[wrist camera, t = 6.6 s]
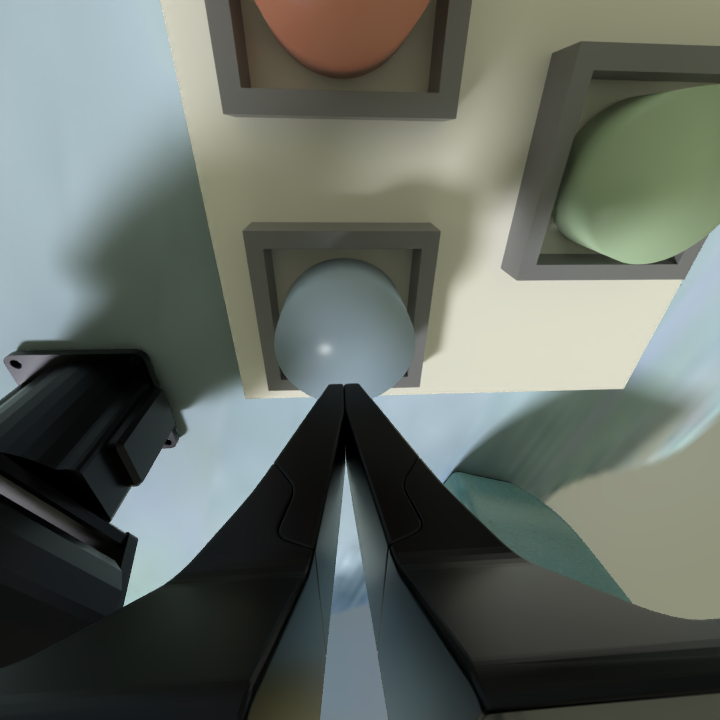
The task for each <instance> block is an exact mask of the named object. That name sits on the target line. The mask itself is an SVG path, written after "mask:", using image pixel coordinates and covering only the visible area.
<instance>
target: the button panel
mask: <svg viewBox="0 0 720 720" xmlns="http://www.w3.org/2000/svg"><path fill="white" fill-rule="evenodd" d="M160 1H161V6H162V10H163V15H164V20H165V24H166V29H167V34H168V38H169V43H170V48H171V52H172V57H173V62H174V66H175V71H176V76H177V80H178V85H179V90H180V95H181V99H182V104H183V109H184V113H185V118H186V123H187V127H188V132H189V137H190V141H191V146H192V151H193V155H194V160H195V165H196V169H197V174H198V179H199V183H200V188H201V193H202V198H203V202H204V207H205V212H206V216H207V221H208V226H209V230H210V235H211V240H212V244H213V249H214V254H215V258H216V263H217V268H218V272H219V277H220V282H221V287H222V291H223V296H224V301H225V305H226V310H227V315H228V319H229V324H230V329H231V333H232V338H233V343H234V347H235V352H236V357H237V361H238V366H239V371H240V375H241V380H242V385H243V390H244V394H245V399H256V398H294V397H311V396H309V395H307V394H305V393H304V392H302V391H301V390H299V389H298V388H297V387H295V386H294V385H293V384H292V383H291V382H290V381H289V380H288V379H287V377H286V376H285V375H284V373H283V372H282V370H281V368H280V366H279V364H278V361H277V359H276V355H275V349H274V338H275V332H276V328H277V324H278V321H279V318H280V315H281V312H282V309H283V305H284V302H285V299H286V296H287V294H288V291H289V289H290V288H291V286H292V284H293V283H294V281H295V280H296V279H297V278H298V277H299V276H300V275H301V274H302V273H303V272H304V271H306V270H307V269H308V268H310V267H311V266H313V265H315V264H317V263H320V262H323V261H326V260H330V259H335V258H352V259H357V260H362V261H365V262H368V263H370V264H372V265H374V266H376V267H377V268H379V269H380V270H382V271H383V272H384V273H385V274H386V275H387V276H388V277H389V278H390V279H391V280H392V281H393V283H394V284H395V286H396V287H397V289H398V291H399V294H400V296H401V298H402V301H403V303H404V305H405V308H406V310H407V313H408V315H409V317H410V320H411V322H412V325H413V328H414V332H415V350H414V356H413V359H412V361H411V364H410V366H409V368H408V370H407V371H406V373H405V374H404V376H403V377H402V378H401V379H400V380H399V381H398V382H397V383H396V384H395V385H394V386H393V387H392V388H390V389H389V390H387V391H386V392H384V393H383V394H381V395H408V394H446V393H484V392H522V391H561V390H599V389H624V387H625V385H626V384H627V382H628V380H629V378H630V376H631V374H632V372H633V371H634V369H635V367H636V365H637V363H638V361H639V360H640V358H641V356H642V354H643V352H644V350H645V348H646V347H647V345H648V343H649V341H650V339H651V337H652V336H653V334H654V332H655V330H656V328H657V326H658V324H659V323H660V321H661V319H662V317H663V315H664V313H665V311H666V310H667V308H668V306H669V304H670V302H671V300H672V299H673V297H674V295H675V293H676V291H677V289H678V287H679V286H680V284H681V282H682V280H683V279H685V277H686V275H687V273H688V272H689V270H690V268H691V266H692V264H693V262H694V261H695V259H696V257H697V255H698V253H699V251H700V250H701V248H702V246H703V244H704V242H705V240H706V238H707V237H708V235H709V234H708V235H707V236H705V237H704V238H703V239H701V240H700V241H699V242H697V243H696V244H695V245H693V246H691V247H690V248H688V249H687V250H685V251H683V252H681V253H679V254H677V255H675V256H673V257H670V258H668V259H665V260H662V261H658V262H654V263H649V264H628V263H623V262H620V261H618V260H615V259H613V258H611V257H608V256H606V255H603V254H601V253H599V252H596V251H594V250H592V249H589V248H587V247H584V246H582V245H580V244H577V243H575V242H572V241H571V240H569V239H567V238H566V237H565V236H564V235H563V234H562V233H561V232H560V231H559V230H558V228H557V227H556V225H555V223H554V221H553V217H552V210H553V207H554V203H555V200H556V197H557V193H558V190H559V187H560V183H561V180H562V176H563V173H564V170H565V166H566V163H567V159H568V156H569V153H570V149H571V146H572V142H573V139H574V137H575V136H576V135H577V133H578V132H579V131H580V130H581V129H582V128H583V127H584V126H585V125H586V124H587V123H588V122H589V121H590V120H591V119H592V118H593V117H595V116H596V115H597V114H598V113H600V112H601V111H603V110H604V109H606V108H607V107H609V106H611V105H613V104H615V103H617V102H619V101H621V100H624V99H627V98H630V97H635V96H640V95H647V94H653V93H660V92H666V91H673V90H679V89H686V88H692V87H698V86H705V85H715V84H720V0H430V2H429V3H428V5H427V7H426V9H425V10H424V12H423V14H422V15H421V17H420V18H419V20H418V21H417V23H416V24H415V26H414V27H413V29H412V30H411V31H410V33H409V34H408V36H407V37H406V39H405V40H404V42H403V43H402V45H401V46H400V47H399V49H398V50H397V51H396V52H395V53H394V54H393V55H392V57H391V58H390V59H389V60H387V61H386V62H385V63H384V64H383V65H381V66H380V67H378V68H377V69H375V70H373V71H372V72H370V73H367V74H365V75H362V76H359V77H355V78H348V79H337V78H330V77H326V76H323V75H319V74H317V73H315V72H313V71H311V70H309V69H308V68H306V67H304V66H303V65H301V64H300V63H299V62H298V61H296V60H295V59H294V58H293V57H292V56H291V55H290V54H289V53H288V52H287V51H286V50H285V49H284V48H283V47H282V45H281V44H280V42H279V41H278V40H277V38H276V37H275V36H274V34H273V32H272V31H271V29H270V27H269V25H268V24H267V22H266V20H265V18H264V17H263V15H262V13H261V11H260V10H259V8H258V6H257V5H256V3H255V1H254V0H160Z"/></svg>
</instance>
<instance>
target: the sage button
mask: <svg viewBox="0 0 720 720" xmlns="http://www.w3.org/2000/svg"><path fill="white" fill-rule="evenodd" d="M552 217H553V221H554V223H555V225H556V227H557V228H558V230H559V231H560V232H561V233H562V234H563V235H564V236H565V237H566V238H567V239H569V240H571V241H572V242H575V243H577V244H580V245H582V246H584V247H587V248H589V249H592V250H594V251H596V252H599V253H601V254H603V255H606V256H608V257H611V258H613V259H615V260H618V261H620V262H623V263H628V264H649V263H654V262H658V261H662V260H665V259H668V258H670V257H673V256H675V255H677V254H679V253H681V252H683V251H685V250H687V249H688V248H690V247H691V246H693V245H695V244H696V243H697V242H699V241H700V240H701V239H703V238H704V237H705V236H707V235H708V234H709V233H710V232H711V231H712V230H714V229H715V228H716V227H717V226H718V225H719V224H720V84H715V85H705V86H698V87H692V88H686V89H679V90H673V91H666V92H660V93H653V94H647V95H640V96H635V97H630V98H627V99H624V100H621V101H619V102H617V103H615V104H613V105H611V106H609V107H607V108H606V109H604V110H603V111H601V112H600V113H598V114H597V115H596V116H595V117H593V118H592V119H591V120H590V121H589V122H588V123H587V124H586V125H585V126H584V127H583V128H582V129H581V130H580V131H579V132H578V133H577V135H576V136H575V137H574V139H573V142H572V146H571V149H570V153H569V156H568V159H567V163H566V166H565V170H564V173H563V176H562V180H561V183H560V187H559V190H558V193H557V197H556V200H555V203H554V207H553V210H552Z"/></svg>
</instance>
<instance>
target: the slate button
mask: <svg viewBox="0 0 720 720" xmlns="http://www.w3.org/2000/svg"><path fill="white" fill-rule="evenodd" d="M274 349H275V355H276V359H277V361H278V364H279V366H280V368H281V370H282V372H283V373H284V375H285V376H286V377H287V379H288V380H289V381H290V382H291V383H292V384H293V385H294V386H295V387H297V388H298V389H299V390H301V391H302V392H304V393H305V394H307V395H309V396H311V397H314V398H316V399H319V397H320V396H321V395H322V393H323V392H324V390H325V389H326V387H327V386H328V385H329V384H343V385H345V384H347V383H358V384H360V385H361V387H362V388H363V389H364V390H365V391H366V393H367V394H368V395H369V396H370V398H371V399H372V398H374V397H377V396H379V395H381V394H383V393H384V392H386V391H387V390H389V389H390V388H392V387H393V386H394V385H395V384H396V383H397V382H398V381H399V380H400V379H401V378H402V377H403V376H404V374H405V373H406V371H407V370H408V368H409V366H410V364H411V361H412V359H413V356H414V350H415V332H414V328H413V325H412V322H411V320H410V317H409V315H408V313H407V310H406V308H405V305H404V303H403V301H402V298H401V296H400V294H399V291H398V289H397V287H396V286H395V284H394V283H393V281H392V280H391V279H390V278H389V277H388V276H387V275H386V274H385V273H384V272H383V271H382V270H380V269H379V268H377V267H376V266H374V265H372V264H370V263H368V262H365V261H362V260H357V259H352V258H335V259H330V260H326V261H323V262H320V263H317V264H315V265H313V266H311V267H310V268H308V269H307V270H306V271H304V272H303V273H302V274H301V275H300V276H299V277H298V278H297V279H296V280H295V281H294V283H293V284H292V286H291V288H290V289H289V291H288V294H287V296H286V299H285V302H284V305H283V309H282V312H281V315H280V318H279V321H278V324H277V328H276V332H275V338H274Z"/></svg>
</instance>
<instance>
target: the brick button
mask: <svg viewBox="0 0 720 720" xmlns="http://www.w3.org/2000/svg"><path fill="white" fill-rule="evenodd" d="M254 1H255V3H256V5H257V6H258V8H259V10H260V11H261V13H262V15H263V17H264V18H265V20H266V22H267V24H268V25H269V27H270V29H271V31H272V32H273V34H274V36H275V37H276V38H277V40H278V41H279V42H280V44H281V45H282V47H283V48H284V49H285V50H286V51H287V52H288V53H289V54H290V55H291V56H292V57H293V58H294V59H295V60H296V61H298V62H299V63H300V64H301V65H303V66H304V67H306V68H308V69H309V70H311V71H313V72H315V73H317V74H319V75H323V76H326V77H330V78H337V79H348V78H355V77H359V76H362V75H365V74H367V73H370V72H372V71H373V70H375V69H377V68H378V67H380V66H381V65H383V64H384V63H385V62H386V61H387V60H389V59H390V58H391V57H392V55H393V54H394V53H395V52H396V51H397V50H398V49H399V47H400V46H401V45H402V43H403V42H404V40H405V39H406V37H407V36H408V34H409V33H410V31H411V30H412V29H413V27H414V26H415V24H416V23H417V21H418V20H419V18H420V17H421V15H422V14H423V12H424V10H425V9H426V7H427V5H428V3H429V2H430V0H254Z"/></svg>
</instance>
